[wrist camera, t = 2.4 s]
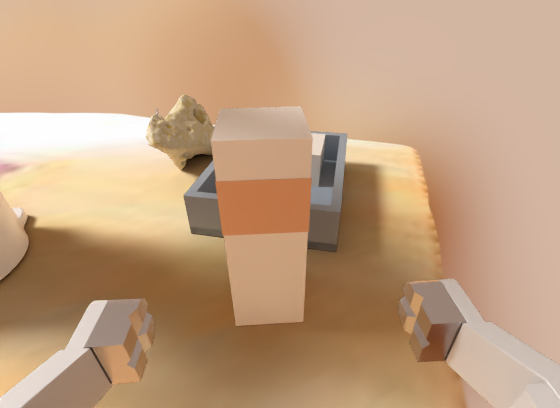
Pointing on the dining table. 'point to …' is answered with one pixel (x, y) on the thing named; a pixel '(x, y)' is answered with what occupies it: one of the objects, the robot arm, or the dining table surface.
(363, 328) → the dining table surface
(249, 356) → the dining table surface
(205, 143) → the beige rock
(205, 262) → the dining table surface
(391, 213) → the dining table surface
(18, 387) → the robot arm
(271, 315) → the juice carton
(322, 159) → the white rectangular block
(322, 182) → the tote
